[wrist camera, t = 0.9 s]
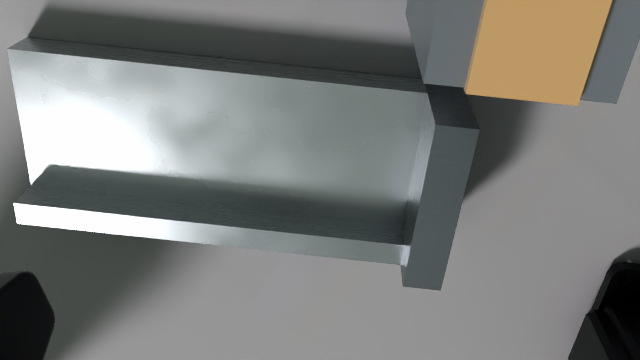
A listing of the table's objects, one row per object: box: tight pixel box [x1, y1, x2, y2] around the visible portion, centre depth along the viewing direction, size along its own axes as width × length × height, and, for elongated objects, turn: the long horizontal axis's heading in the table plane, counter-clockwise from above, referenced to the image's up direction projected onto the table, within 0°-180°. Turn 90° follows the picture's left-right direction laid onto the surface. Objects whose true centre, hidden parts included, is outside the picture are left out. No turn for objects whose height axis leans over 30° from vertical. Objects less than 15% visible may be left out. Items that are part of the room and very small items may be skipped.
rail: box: [7, 37, 480, 290], centre depth 19 cm, size 14×6×4 cm, turn 85°
